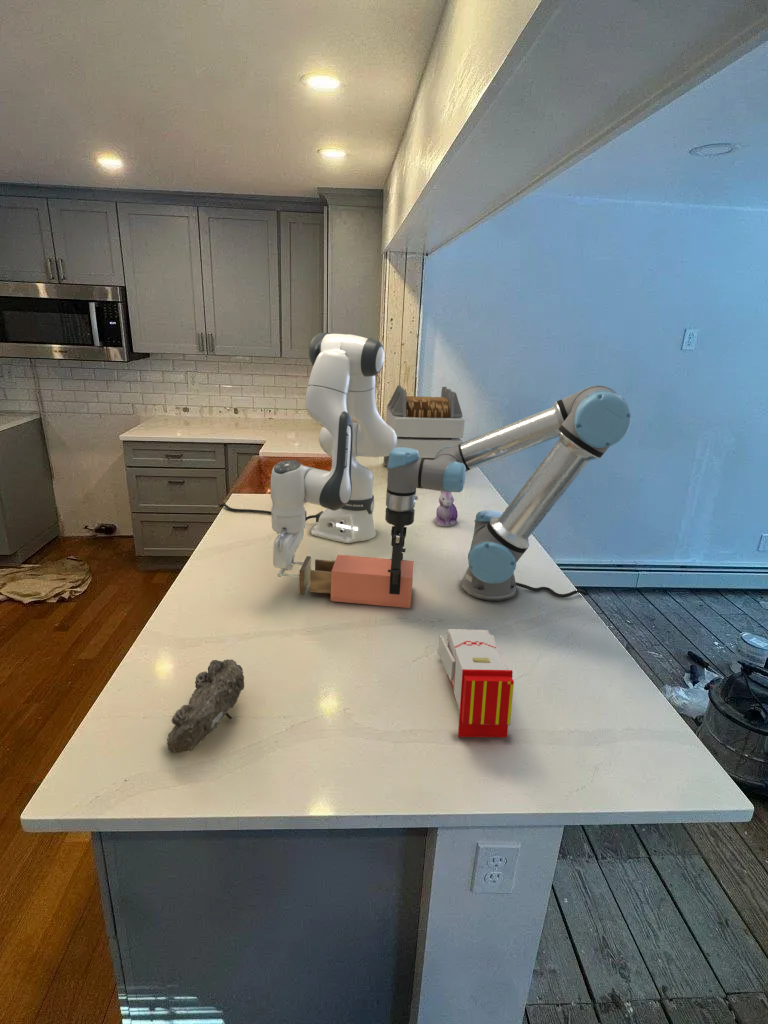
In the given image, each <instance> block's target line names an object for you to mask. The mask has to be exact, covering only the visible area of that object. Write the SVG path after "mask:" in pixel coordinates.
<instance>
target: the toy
mask: <svg viewBox="0 0 768 1024" xmlns="http://www.w3.org/2000/svg"><path fill="white" fill-rule="evenodd" d="M446 640H447V643H446V641H445V639H444V636H443V635H442V634H439V637H438V646H437V656H438V657H439V659H440V661H441V663H442V666H443V668H444V670H445V672H446V674H447V677H448V679H449V681H450V684H451V687H452V690H453V693H454V697H455V701H456V705H457V708H458V711H459V714H458V715H459V716H458V730H457V731H458V732H457V737H458V738H508V731H509V726H510V725H511V717H512V707H513V697H514V696H513V695H514V684H515V680H514V679H513V673H514V671H513V670H512V669H508V667H507V665H506V662H505V661H504V659H503V658H502V655H501V653H500V651H499V649H498V647H497V643H496V639H495V637H494V635H493V634H491V632H490V631H489V629H467V628H466V629H465V628H463V629H461V628H460V629H459V628H448V630H447V639H446Z"/></svg>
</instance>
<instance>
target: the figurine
mask: <svg viewBox="0 0 768 1024" xmlns="http://www.w3.org/2000/svg"><path fill="white" fill-rule="evenodd" d="M454 502H455V498H454V495H453V493H452V492H445V491H440V494H439V497H438V503H439V506H438V507H437V508H436V513H435V515H436V517H435V521H434V522H435V523H436V524H437V526H440V527H450V526H454V525H455V524H457V520H458V517H459V516H458V514H459V513H458V510H457V507H456V505H455V504H454Z"/></svg>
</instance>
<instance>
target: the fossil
mask: <svg viewBox="0 0 768 1024" xmlns="http://www.w3.org/2000/svg"><path fill="white" fill-rule="evenodd" d="M243 670H244V669H243V667H242V665H240V664H237V662H236V661H235V660H234V659H232V658H231V659H227V658H226V659H224V660H223V661H222V660H217V659H212V660H211V661H210V663H209V665H208V666H207V671H201V672H199V673H198V674H197V675H196V676H195V680H194V684H195V685H194V687H195V689H194V690H193V693H192V694H191V697H190V698H189V700H188V704H184V705H182V706H181V707H180V709H177V710H176V711H175V713H174V715H173V716H172V718H171V723H172V724H173V727H172V730H171V731H170V732H168V734H167V738H166V741H167V742H166V745H167V749H168V750H169V751H173V752H174V753H176V754H178V753H182V752H188V751H189V752H192V751H193V750H195V748H196V747H197V746H199V744H200V743H201V742H203V741H204V740H205V739H206V738H207V737H208V736H209V735H210V734H211V733H212V732H214V730H215V729H217V727H218V726H219V724H220V722H221V721H222V720H223V719H224V718H225V716H226V717H227V719H229V720H233V717H232V715H230V714H229V710H230V709H231V708H234V706H235V704H236V703H237V702H238V699H239V697H240V695H241V693H242V691H243V690H245V689H244V688H245V675H244V671H243Z"/></svg>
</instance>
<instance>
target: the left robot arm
mask: <svg viewBox="0 0 768 1024" xmlns="http://www.w3.org/2000/svg"><path fill="white" fill-rule="evenodd" d="M308 357H309V361H310V363H311V364H312V368H311V372H310V375H309V378H308V383H307V387H306V390H305V391H306V392H305V395H304V396H305V397H304V407H305V409H306V412H307V413H308V415H309V416H310V418H311V419H313V420H314V422H316V423H317V424H319V425H321V426H322V427H321V429H320V431H319V435H318V442H319V446H320V448H321V450H323V452H324V453H326V454H327V455H328V456H329V457H330V459H331V468H330V470H325V469H320V468H316V467H313V466H307V465H304V464H302V463H301V462H300V461H298V460H295V459H286V460H281V461H278V462H277V463H275V464H274V465H273V467H272V471H271V474H270V499H271V502H272V504H271V505H272V506H271V509H270V510H262V509H251V508H250V509H249V508H248V509H247V508H234V507H230V506H229V505H227V504H226V503H221V504H219V506H218V508H223V507H224V508H226V510H229V511H232V512H241V513H257V514H268V515H270V516H271V529H272V531H273V532H275V533H276V537H275V539H274V541H273V547H272V549H273V551H272V553H273V554H272V563H273V564H272V565H273V567H274V568H277V569H281V568H285V571H290V572H291V571H292V570H293V568H294V566H295V564H294V562H295V556H296V552H297V550H298V549H299V547H300V545H301V543H302V541H303V539H304V535H305V529H306V522H307V521H308V520H310V519H315V524H314V525H313V526H312V528H311V530H310V533H311V536H315V537H319V538H323V539H326V540H330V541H336V542H339V543H343V544H352V543H357V542H365V541H368V540H372V539H373V538H375V537H376V535H377V532H376V528H375V523H374V513H373V512H374V509H375V496H374V474H373V472H372V471H371V469H369V468H368V467H366V466H365V465H363V464H362V463H360V462H359V461H358V459H357V457H364V458H384V456H389V454H390V451H391V450H392V449H394V448H396V446H397V435H396V433H395V431H394V430H393V428H392V427H390V426H389V425H388V424H387V423H386V421H385V420H384V419H383V418H382V417H381V415H380V413H379V410H378V406H377V397H376V386H377V385H376V381H377V380H376V376H377V375H378V374H379V373H380V372H382V369H383V367H384V364H385V358H386V357H385V347H384V346H383V344H382V342H381V341H379V340H377V339H375V338H372V337H369V338H367V337H364V336H360V335H355V334H349V333H347V334H344V333H330V332H320V333H319V332H318V333H317V334H316V335H315V336H314V337H313V338H312V339H311V341H310V344H309V347H308ZM353 419H354V420H355V421H356V422H353ZM305 503H308V504H312V505H316V506H319V507H320V506H321V508H324V509H325V510H321V511H319V512H318V513H316V514H313V515H308V516H307V513H308V512H307V510H306V508H305V505H304V504H305Z"/></svg>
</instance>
